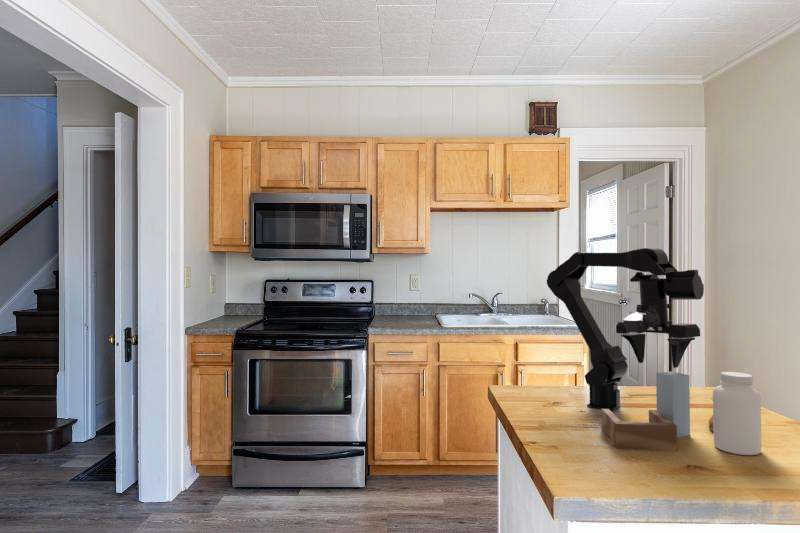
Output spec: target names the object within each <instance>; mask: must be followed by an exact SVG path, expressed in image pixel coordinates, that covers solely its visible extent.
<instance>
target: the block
mask: <svg viewBox="0 0 800 533" xmlns="http://www.w3.org/2000/svg"><path fill="white" fill-rule="evenodd" d="M655 374H656V376H655V377H656V378H655V379H656V381H655V382H656V383H655V385H656V386H655V388H656V390H655V392H656V410H657V411H658V412H659V413H661V414H662V415H663V416H665V417H666V418H667V419H669V420H670V421H671V422H672V423H674V424H675V425H676V426H677V438H681V437H682V438H683V437H690V436H691V411H690V410H691V406H690V400H691V398H690V393H691V392H690V375H688V374H685V373H681V372H676V371H662V372H656V373H655Z"/></svg>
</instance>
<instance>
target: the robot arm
mask: <svg viewBox="0 0 800 533" xmlns="http://www.w3.org/2000/svg"><path fill="white" fill-rule="evenodd" d="M668 258H669V257H668V254H667V253H666V252H665V251H664V250H663V249H661V248H657V247H656V248H655V247H654V248H652V247H651V248H650V247H643V248H638V249H633V250H628V251H624V252H588V251H576V252H574V253H573V254H572V255H571V256H570V257H569V258H568V259H567V260H565V261H564V262H563V263H561V264H560V265H558V266H557V267H556V268H555V270H552V271H551V272H549V274H548V276H547V277H546V278H547V279H546V285H547V287H548V289H549V290H550V291H551V292H552V293H553V295H554V296H555V297H556V298H558V300H560V301H562V302H563V303H564V305H565V307H566V309H567V310H568V313H569V314H570V316H571V318H572V319H573V322H574V323H575V325H576V327H577V329H578V331H579V332H580V334H581V336H582V338H583V340H584V342H585V344H586V345H587V347H588V349H589V358H590V359H589V360H590V364H591V366H592V368H591V369H590V370H589V371H588V372H587V373H586V374H584V379H585V382H586V384H587V385H589V388H588V389H589V402H588V403H587V404H586V406H587V407H588V408H589V407H590V408H595V409H598V410H599V409H600V410H602V409H609V410H610V411H611V412H612V411H614V410H616V409H618V408H619V407H620V406H621V390H620V389H619V387H618V386H619V384H618V383H620V382H621V381H622V378H623V376H624V375H625V374H626V373H627V371H628V370H627V369H628V363H627V360H628V358H627V357H626V356H625V355H624V354H623V351H622V348H621V347H620V346H619V345H614V346H612V344H610V343H609V342H608V341H607V340H606V337H605V336H604V334H603V332H602V331H601V329H600V327H599V326H598V323H597V322H596V320H595V318H594V317H593V315H592V313H591V311H590V309H589V308H588V306H587V304H586V302H585V301H584V299H583V297H582V294H581V290H582V288H581V284H580V280H581V278H582V277H584V274H585V273H586V270H587V269H588V268H589V267H611V268H612V267H615V268H616V267H617V268H618V267H620V268H625V269H630V270H632V271H636V273H635V275H633V276H632V277H631V278H630V279H629V282H631V283H635V282H636V283H639V285H638V286H639V299H640V300H639V301H640V304H636V311H635V312H633V313H631V314H629V315H628V316H626V317H624V318H623V319H622V320H623V321H618V322H617V324H616V325H615V333H616V334H620V336H621V337H622V338H624V339H626V341H628V342H629V345H630V346H631V348H632V350H633V353H634V355H635V357H636V359H637V362H638V364H643V363H644V360H645V348H646V337H647V336H646V333H653V334H665V335H666V334H667V335H668V336H670V338H667V341H668V342H669V344H670V347H671V349H670V350H671V361H672V367H673V368H674V369H677V368H678V367H679V366H680V363H681V361H682V358H684V354H685V352H686V350H687V349H688V346H689V345H690V343H691V342H692V341H695V340H696V338H697V337H701V329H700V327H699V325H697V324H696V323H673V321H672V320H669V311H668V309H671V308H672V304H671V303H668V297H669V298H670V299H671V300H673V301H674V300H680V301H681V300H687V301H689V300H690V301H691V300H692V301H695V300H696V301H697V300H701V299H702V298H703V296H704V291H705V284H704V283H703V281H702V280H703V279H702V278H701V276H700V274H699V270H698V269H686V270H682V271H680V270H677V269H676V267H675V266H674V265H673V264H672V263H671V262H670V261H669V259H668ZM644 273H650V274H644ZM659 276H665V278H659Z"/></svg>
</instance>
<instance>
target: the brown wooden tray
mask: <svg viewBox="0 0 800 533" xmlns="http://www.w3.org/2000/svg"><path fill="white" fill-rule="evenodd" d="M601 432H602V434H603V435H604V436H605V437H606V438H607V439H608V441H609V442H610V443H611V444H612V445H613V446H614V447H615V449H616V450H641V451H642V450H643V451H644V450H645V451H669V452H671V451H672V452H676V451H678V437H677V426H676V425H675V424H674V423H672V422H671V421H670V420H669V419H667V418H666V417H665V416H663V415H662V414H661V413H659V412H658V411H657V409H648V422H644V421H643V422H642V421H641V422H639V421H638V422H637V421H622V420H620V419H619V417H618V416H617V415H615V413H613V412H612V411H610V410H609V409H601Z"/></svg>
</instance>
